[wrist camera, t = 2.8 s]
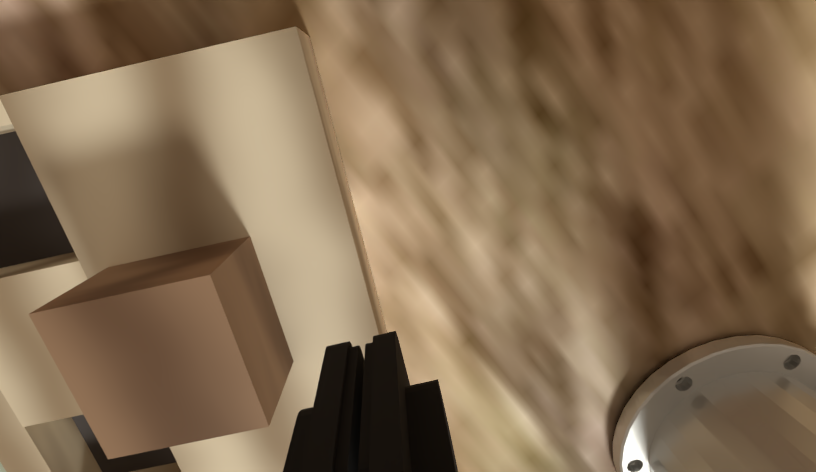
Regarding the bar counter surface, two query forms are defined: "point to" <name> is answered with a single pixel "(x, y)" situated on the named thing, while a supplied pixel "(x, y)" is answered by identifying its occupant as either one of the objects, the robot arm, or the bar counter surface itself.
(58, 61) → the bar counter surface
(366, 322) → the trap board
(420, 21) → the bar counter surface
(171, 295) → the walnut block
